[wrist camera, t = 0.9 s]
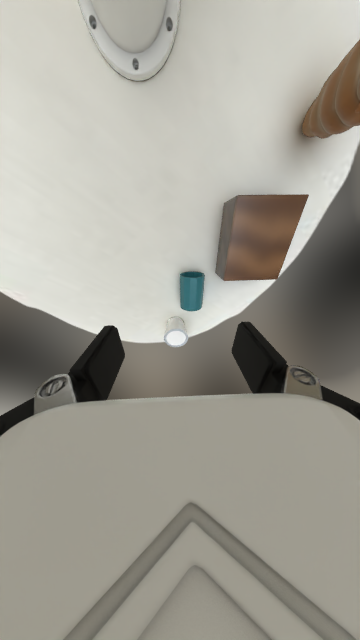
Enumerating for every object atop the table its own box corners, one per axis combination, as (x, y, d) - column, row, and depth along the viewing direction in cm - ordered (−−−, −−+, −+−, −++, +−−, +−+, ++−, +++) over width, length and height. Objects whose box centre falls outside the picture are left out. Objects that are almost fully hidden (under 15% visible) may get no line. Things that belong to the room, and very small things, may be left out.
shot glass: (189, 327, 45) (192, 342, 39) (171, 335, 46) (171, 350, 40) (180, 312, 41) (181, 325, 35) (161, 320, 43) (159, 334, 37)
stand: (223, 203, 28) (237, 195, 22) (280, 202, 28) (309, 194, 22) (215, 273, 35) (223, 280, 29) (260, 271, 36) (277, 279, 30)
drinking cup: (179, 272, 35) (180, 278, 30) (202, 271, 35) (207, 277, 30) (180, 301, 39) (181, 311, 35) (200, 301, 40) (203, 310, 35)
